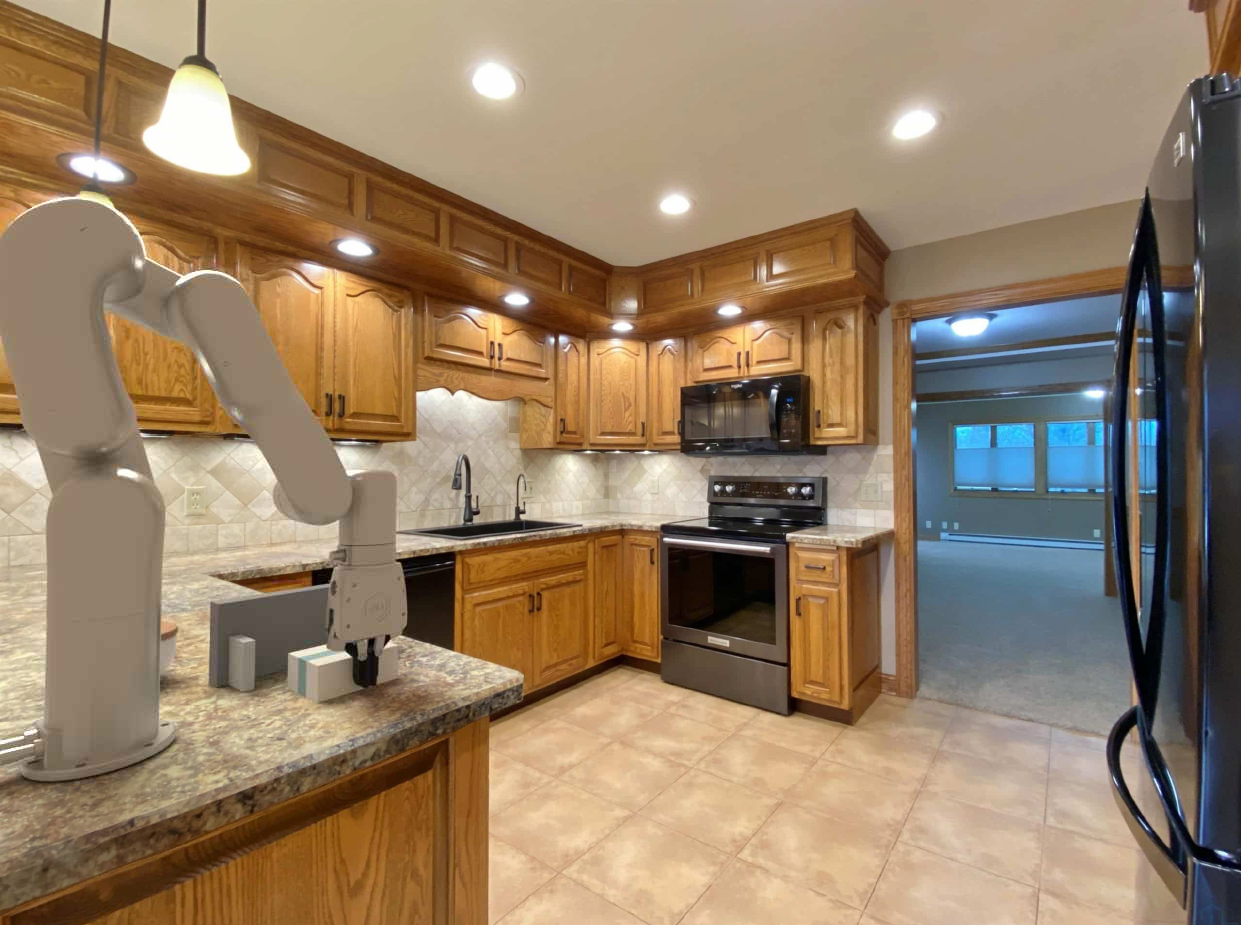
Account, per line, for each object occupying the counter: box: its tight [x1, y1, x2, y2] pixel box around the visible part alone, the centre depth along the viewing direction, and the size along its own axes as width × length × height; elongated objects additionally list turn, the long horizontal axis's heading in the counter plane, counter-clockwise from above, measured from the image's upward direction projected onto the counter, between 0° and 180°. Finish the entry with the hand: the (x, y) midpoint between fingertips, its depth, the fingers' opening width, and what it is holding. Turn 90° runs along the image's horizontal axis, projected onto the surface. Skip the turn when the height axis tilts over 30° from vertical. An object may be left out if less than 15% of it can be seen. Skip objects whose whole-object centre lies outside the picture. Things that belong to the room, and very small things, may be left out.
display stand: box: [208, 583, 330, 693], centre depth 92 cm, size 24×8×12 cm, turn 144°
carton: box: [286, 640, 399, 704], centre depth 85 cm, size 12×9×5 cm
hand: (365, 684), depth 81 cm, fingers closed
